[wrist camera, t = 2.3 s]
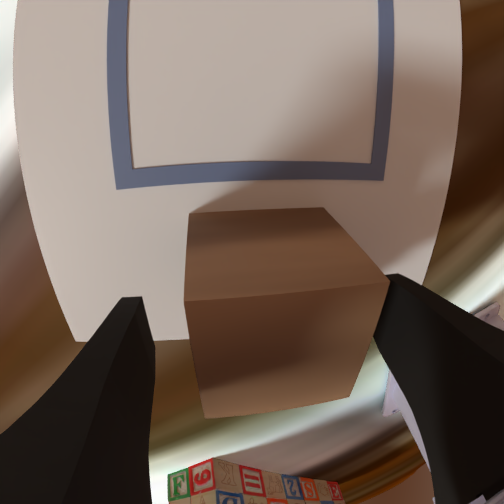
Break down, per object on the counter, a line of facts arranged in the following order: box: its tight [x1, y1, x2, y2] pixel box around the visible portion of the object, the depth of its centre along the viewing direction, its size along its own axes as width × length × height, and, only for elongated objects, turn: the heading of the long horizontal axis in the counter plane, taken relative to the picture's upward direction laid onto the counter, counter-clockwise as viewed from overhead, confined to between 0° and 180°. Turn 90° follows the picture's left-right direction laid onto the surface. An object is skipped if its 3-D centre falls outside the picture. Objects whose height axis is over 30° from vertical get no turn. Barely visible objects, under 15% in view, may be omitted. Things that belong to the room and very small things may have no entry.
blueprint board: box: [13, 0, 462, 342], centre depth 8 cm, size 22×16×1 cm
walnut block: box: [184, 207, 390, 418], centre depth 9 cm, size 4×4×4 cm
